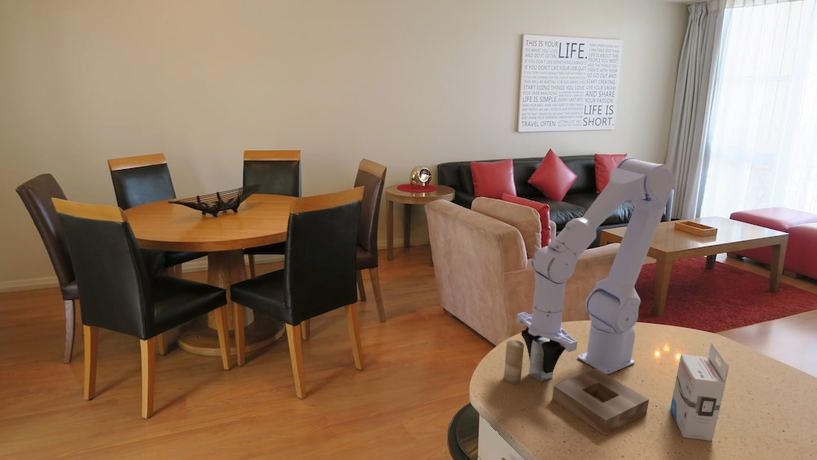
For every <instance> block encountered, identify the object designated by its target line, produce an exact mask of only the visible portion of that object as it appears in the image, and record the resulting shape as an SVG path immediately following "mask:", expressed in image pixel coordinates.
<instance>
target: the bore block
mask: <svg viewBox="0 0 817 460" xmlns="http://www.w3.org/2000/svg"><path fill="white" fill-rule="evenodd" d="M552 389H553V390H552V396H551V397H552V400H553V401H554V402H556V403H557V404H559V405H561V406H562V407H563V408H565V409H566V410H567V411H569V412H570V413H572V415H574V416H576V417H577V418H579V419H580V420H582V421H583V422H585V423H586V424H588V425H589V426H590V427H592V428H593V429H595V430H596V431H597V432H599V433H600V434H602V435H603V436H605V435H607V434H609V433H611V432H613V431H615V430H616V429H619V428H620V427H622V426H624V425H626V424H629V423H630V422H632V421H635V420H636V419H638V418H640V417H642V416H645V414H647V413H648V407H649V403H650V399H649V398H648V397H646V396H644V395H643V394H641V393H639V392H637V391H635V390H634V389H632V388H630V387H629V386H627V385H626V384H623V383H622V382H620V381H618V380H617V379H615V378H614V377H611V376H609V374H605V373H603V372H601V371H599V370H598V369H596V368H594V369H591V370H589V371H586V372H583V373H582V374H578V375H575V376H574V377H571V378H569V379H566V380H564V381H561V382H559V383H556V384H554V385H553V388H552ZM596 396H597V398H600V399H601V400H603V401H604V402H602V401H601V400H599V399H597V398H596Z"/></svg>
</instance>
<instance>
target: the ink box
mask: <svg viewBox="0 0 817 460" xmlns="http://www.w3.org/2000/svg"><path fill="white" fill-rule="evenodd" d="M679 358H680V359H679V364H678V368H677V372H676V373H677V374H676V379H675V384H674V389H673V393H672V398H671V403H670V410H671V412H672V415H673V418H674V419H675V422H676V424H677V426H678V428H679V431H680V432H681V435H682V437H683V438H687V439H694V440H703V441H708V442H709V441H710V442H711V441H713V439H714V435H715V430H716V426H717V422H718V418H719V414H720V410H721V404H722V400H723V397H724V392H725V388H726V383H727V377H728V373H729V368H730V367H729V366H730V365H729V363H728V362H727V361H726V360H725V358H724V357H723V356H722V353H720V351H719V349H717V347H716V346H715V344H714V343H713V342H712V343H710V346H709V352H708V357H707V356H700V355H691V354H683V353H681V354H680V357H679ZM717 359H718V360H717ZM718 361H719V362H718Z"/></svg>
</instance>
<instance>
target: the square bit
mask: <svg viewBox="0 0 817 460" xmlns="http://www.w3.org/2000/svg"><path fill="white" fill-rule="evenodd" d="M547 341H550V339H548V338H545V337H542V336H541V337H538V338H535V339H532V347H531V357H530V360H529V368H528V370H529V371H528V374H529V375H530V376H531V377H533V378H534V379H536V380H537V381H539V382H541V383H542V382H544V381H547V380H549V379H551V378H553V376H554V371H552V372H550V373H547V374H546V373H545V372H544V352H543V348H542V343H544V342H547Z"/></svg>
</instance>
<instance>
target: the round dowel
mask: <svg viewBox="0 0 817 460" xmlns="http://www.w3.org/2000/svg"><path fill="white" fill-rule="evenodd" d="M524 349H525V344H524V343H523V342H522V341H520V340H516V339H512V340H507V342H506V348H505V360H504V372H503V380H504V381H505V382H506V383H507V384H512V385H516V384H519V383H521V380H522V370H523V362H524V361H523V360H524Z"/></svg>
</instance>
